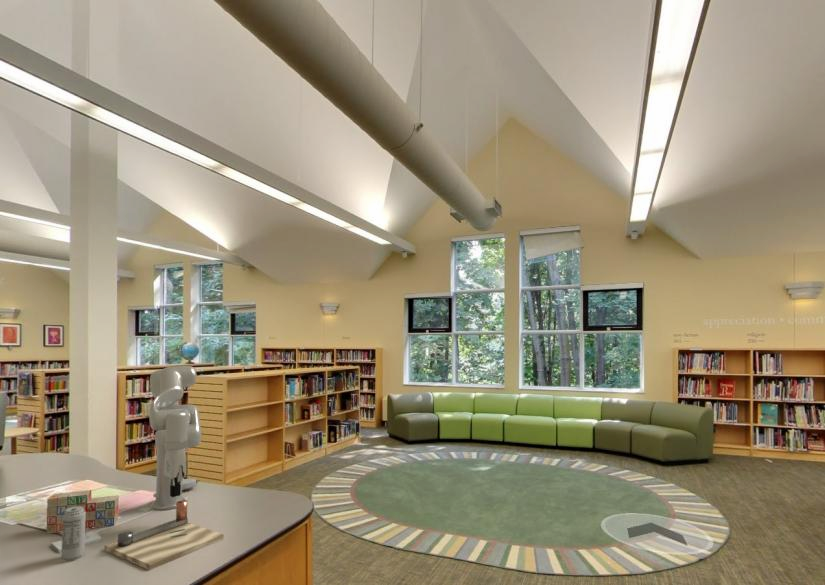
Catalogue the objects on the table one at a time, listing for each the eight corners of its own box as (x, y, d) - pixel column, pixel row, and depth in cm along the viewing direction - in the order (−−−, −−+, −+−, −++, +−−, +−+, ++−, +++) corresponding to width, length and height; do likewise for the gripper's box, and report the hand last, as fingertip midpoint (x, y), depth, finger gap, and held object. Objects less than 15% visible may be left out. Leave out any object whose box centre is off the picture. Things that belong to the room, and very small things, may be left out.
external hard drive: (50, 547, 169) (92, 535, 178) (58, 554, 163) (101, 541, 173) (50, 542, 169) (92, 530, 178) (58, 549, 163) (101, 536, 173)
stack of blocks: (118, 520, 191) (119, 486, 192) (114, 526, 185) (115, 491, 186) (52, 527, 185) (53, 493, 186) (45, 534, 179) (46, 498, 180)
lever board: (104, 550, 165) (104, 544, 165) (178, 523, 187) (178, 518, 187) (149, 570, 151) (149, 564, 151) (223, 538, 173) (223, 533, 173)
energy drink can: (88, 553, 163) (89, 505, 164) (76, 561, 157) (78, 512, 158) (69, 553, 163) (70, 505, 164) (56, 562, 157) (58, 512, 158)
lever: (122, 547, 163) (122, 523, 163) (114, 544, 165) (115, 520, 166) (189, 522, 183) (190, 501, 184) (182, 520, 185) (182, 499, 186)
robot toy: (160, 490, 228) (173, 495, 218) (160, 480, 229) (173, 484, 219) (187, 484, 237) (201, 488, 227) (187, 474, 238) (201, 478, 227)
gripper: (159, 444, 192) (157, 494, 191) (172, 449, 182) (171, 502, 180) (179, 441, 198) (178, 489, 196) (194, 446, 187) (193, 497, 185)
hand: (175, 495), depth 188 cm, fingers closed
